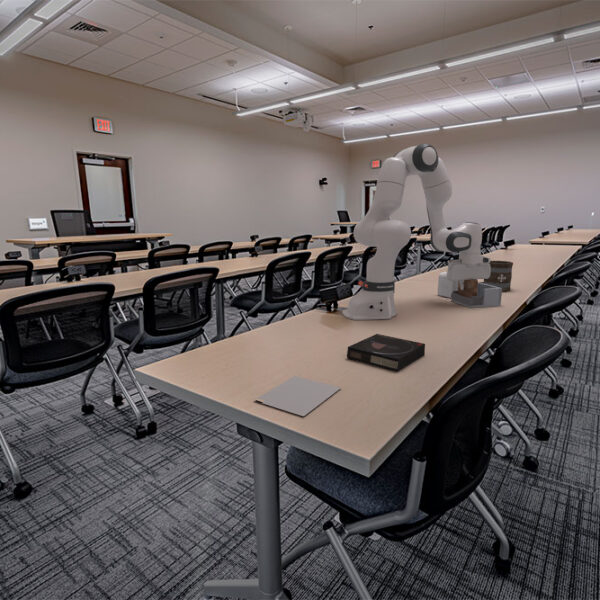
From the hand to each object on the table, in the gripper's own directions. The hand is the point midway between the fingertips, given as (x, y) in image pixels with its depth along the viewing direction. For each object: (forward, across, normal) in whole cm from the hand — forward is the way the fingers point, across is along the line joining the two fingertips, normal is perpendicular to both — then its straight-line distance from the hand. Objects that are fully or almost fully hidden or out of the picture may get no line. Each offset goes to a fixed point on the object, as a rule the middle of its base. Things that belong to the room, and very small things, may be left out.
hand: (467, 289), depth 183 cm
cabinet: (+7, +4, 0) cm, 8 cm away
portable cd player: (+7, -64, -53) cm, 84 cm away
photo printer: (+7, +1, +17) cm, 18 cm away
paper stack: (+7, -95, -65) cm, 116 cm away
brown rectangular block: (+3, 0, 0) cm, 3 cm away
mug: (+7, +32, +26) cm, 42 cm away
